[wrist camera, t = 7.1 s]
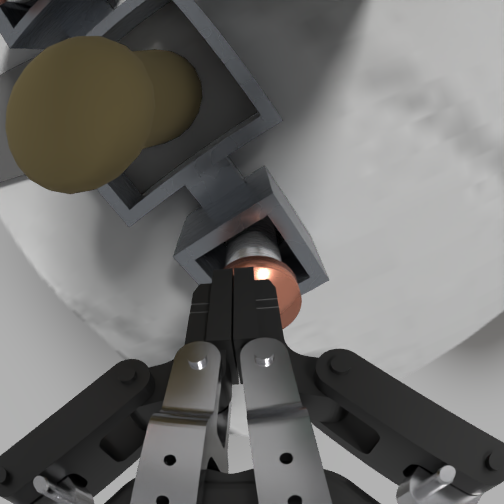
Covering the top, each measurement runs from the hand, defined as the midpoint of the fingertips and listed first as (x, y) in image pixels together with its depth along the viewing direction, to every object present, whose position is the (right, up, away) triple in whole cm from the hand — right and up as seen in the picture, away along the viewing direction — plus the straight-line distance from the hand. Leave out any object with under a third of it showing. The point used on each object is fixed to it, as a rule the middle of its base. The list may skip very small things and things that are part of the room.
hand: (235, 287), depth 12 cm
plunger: (+1, +3, +8) cm, 8 cm away
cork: (-5, +11, +4) cm, 13 cm away
